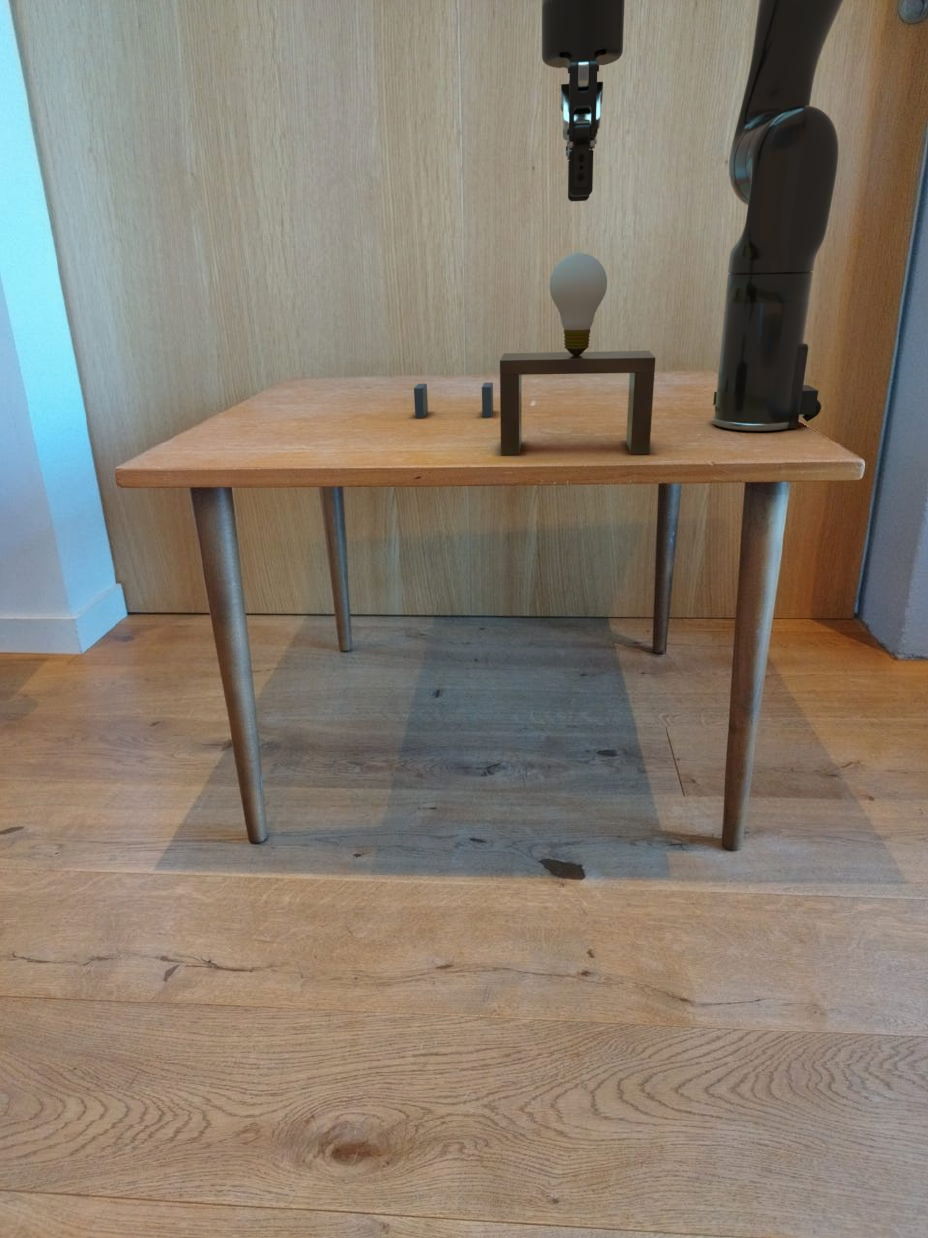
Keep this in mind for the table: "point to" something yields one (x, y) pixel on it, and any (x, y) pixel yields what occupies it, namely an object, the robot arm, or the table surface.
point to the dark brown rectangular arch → (586, 363)
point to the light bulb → (578, 297)
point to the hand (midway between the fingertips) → (579, 198)
